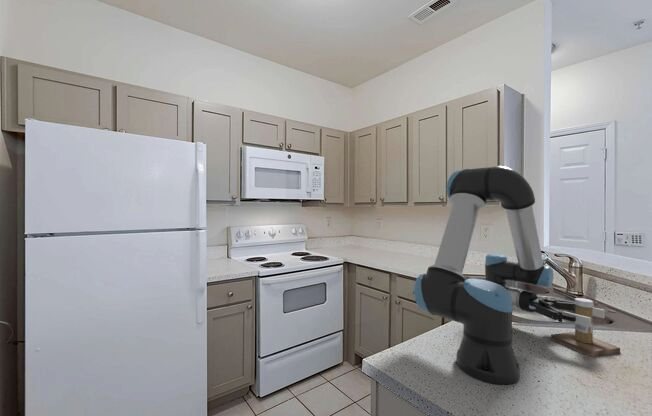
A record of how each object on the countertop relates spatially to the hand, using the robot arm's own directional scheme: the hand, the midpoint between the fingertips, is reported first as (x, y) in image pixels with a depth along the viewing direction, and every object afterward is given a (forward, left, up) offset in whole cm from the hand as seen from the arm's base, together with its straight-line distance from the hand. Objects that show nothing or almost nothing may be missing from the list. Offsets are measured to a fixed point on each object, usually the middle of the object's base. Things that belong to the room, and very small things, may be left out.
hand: (597, 318), depth 90 cm
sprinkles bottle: (-1, +3, -9) cm, 9 cm away
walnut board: (-1, +3, -10) cm, 11 cm away
